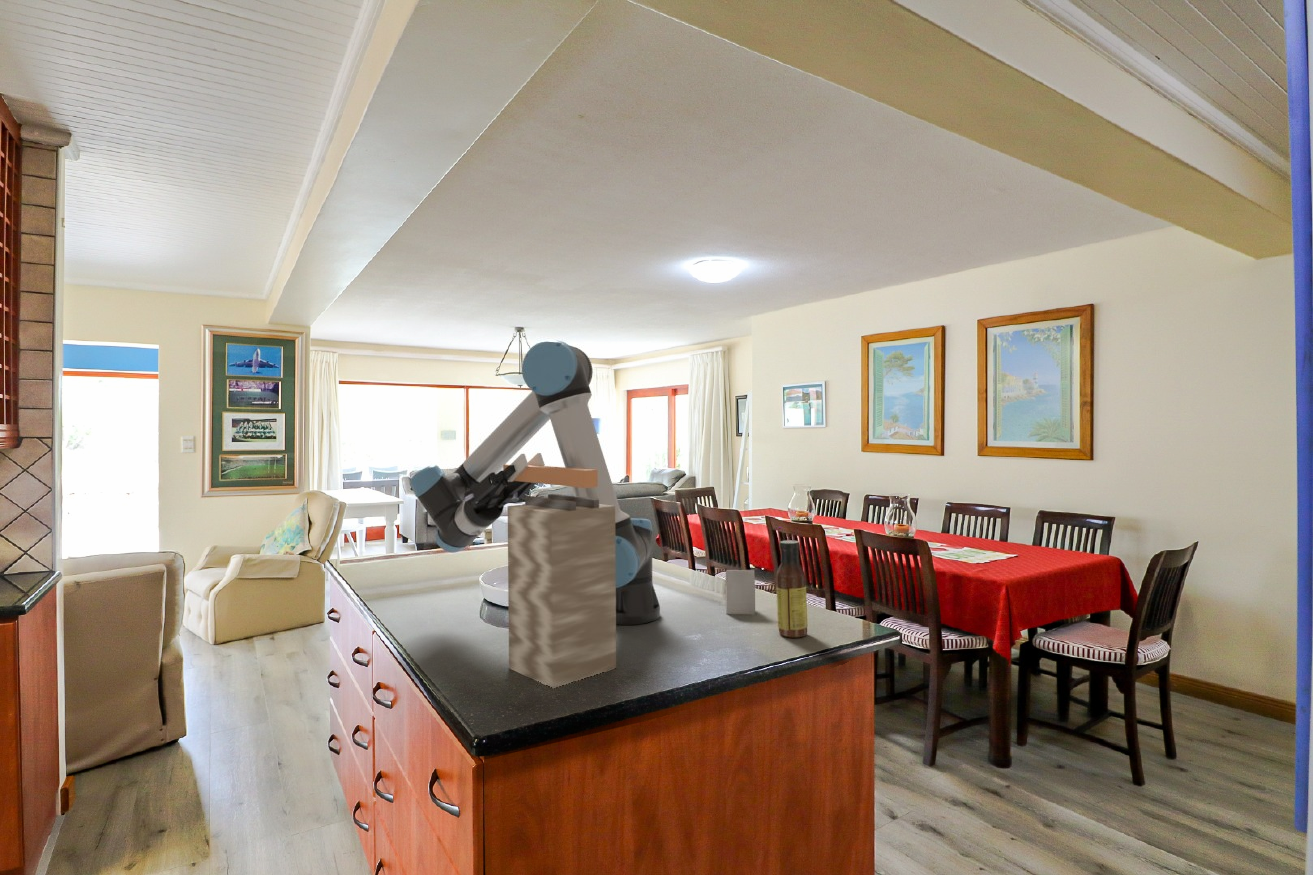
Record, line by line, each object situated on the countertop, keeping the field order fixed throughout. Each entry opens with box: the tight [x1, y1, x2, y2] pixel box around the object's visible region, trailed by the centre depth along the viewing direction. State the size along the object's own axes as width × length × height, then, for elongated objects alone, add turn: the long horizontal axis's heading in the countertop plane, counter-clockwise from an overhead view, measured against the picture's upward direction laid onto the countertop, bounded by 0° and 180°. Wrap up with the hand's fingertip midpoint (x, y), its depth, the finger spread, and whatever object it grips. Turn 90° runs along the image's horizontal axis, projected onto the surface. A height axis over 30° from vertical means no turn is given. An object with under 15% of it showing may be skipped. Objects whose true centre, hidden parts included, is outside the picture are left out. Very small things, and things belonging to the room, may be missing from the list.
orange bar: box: [502, 463, 598, 488], centre depth 130 cm, size 26×3×3 cm, turn 44°
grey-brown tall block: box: [507, 493, 617, 690], centre depth 128 cm, size 14×14×32 cm
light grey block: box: [725, 569, 756, 615], centre depth 166 cm, size 4×7×10 cm, turn 88°
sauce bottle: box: [775, 539, 808, 639], centre depth 148 cm, size 6×6×20 cm
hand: (533, 459), depth 134 cm, fingers closed on orange bar, 3 cm apart
